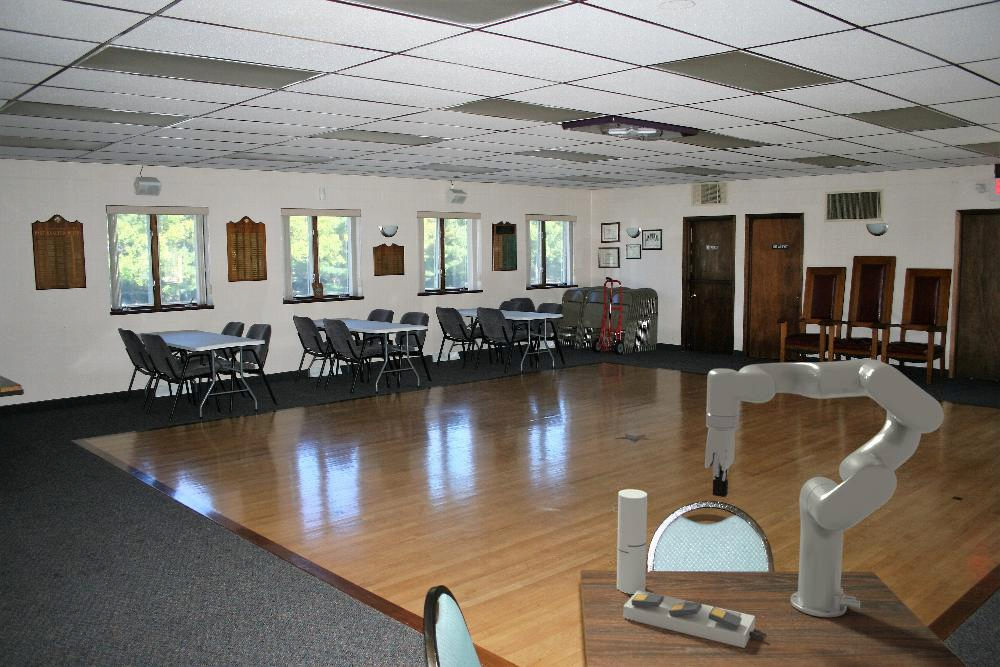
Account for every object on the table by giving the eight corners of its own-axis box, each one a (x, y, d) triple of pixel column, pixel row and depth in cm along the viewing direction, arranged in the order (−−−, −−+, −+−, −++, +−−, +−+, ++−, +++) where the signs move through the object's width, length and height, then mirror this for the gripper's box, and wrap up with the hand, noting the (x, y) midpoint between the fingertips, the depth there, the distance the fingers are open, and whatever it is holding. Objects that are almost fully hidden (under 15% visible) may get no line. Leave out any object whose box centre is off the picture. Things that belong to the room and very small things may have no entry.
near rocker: (740, 622, 180) (741, 617, 179) (736, 630, 176) (737, 625, 176) (712, 611, 182) (714, 606, 182) (707, 618, 179) (709, 613, 179)
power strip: (768, 631, 182) (768, 618, 182) (758, 651, 174) (759, 637, 173) (637, 601, 197) (638, 588, 197) (623, 618, 189) (623, 605, 188)
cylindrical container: (644, 595, 200) (646, 499, 197) (615, 593, 202) (617, 497, 199) (645, 583, 207) (647, 490, 204) (617, 581, 209) (619, 488, 206)
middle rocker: (701, 607, 184) (700, 601, 184) (696, 614, 180) (695, 608, 180) (675, 609, 187) (674, 603, 187) (670, 616, 183) (668, 610, 183)
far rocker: (663, 600, 188) (662, 594, 188) (658, 607, 185) (657, 601, 185) (637, 598, 191) (637, 593, 191) (632, 605, 188) (631, 600, 188)
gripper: (714, 413, 200) (712, 484, 202) (698, 425, 187) (695, 501, 189) (745, 416, 196) (743, 489, 198) (730, 429, 183) (728, 507, 185)
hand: (720, 495), depth 194 cm, fingers closed
